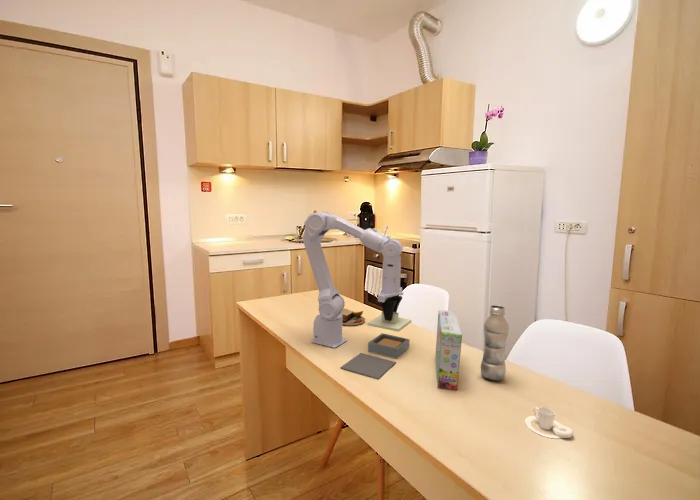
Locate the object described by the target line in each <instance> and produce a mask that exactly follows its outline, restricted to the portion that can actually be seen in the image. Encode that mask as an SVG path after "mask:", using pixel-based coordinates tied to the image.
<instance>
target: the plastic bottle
mask: <svg viewBox="0 0 700 500" xmlns="http://www.w3.org/2000/svg"><path fill="white" fill-rule="evenodd" d="M489 307H490V308H489V316H488V317H487V318H486V319H485V321H484V322H483V334H484V335H483V338H484V346H483V347H484V348H483V355H482V359H481V363H480V373H481V374H482V376H483V377H484V378H485V379H486V380H487V379H488V380H490V381H497V382H498V381H501V380H503V379H504V378H505V376H506V372H507V368H506V367H507V366H506V356H505V355H506V346H507V345H506V343H507V339H508V335H509V331H510V327H509V324H508V321H507V320H506V318H505V314H506V313H505V310H506V309H505V306H502V305H498V304H495V305H494V304H493V305H490V306H489Z"/></svg>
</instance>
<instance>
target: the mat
mask: <svg viewBox="0 0 700 500" xmlns="http://www.w3.org/2000/svg"><path fill="white" fill-rule="evenodd" d="M396 364H397V361H394V360H390V359H386V358H381V357H379V356H374V355H371V354H367V353H364V352H359V354H357V355H356V356H354V357H353V358H352V359H350V360H349V361H347V362H346V363H344V364H343V365H342V366H340V370H344V371H348V372H350V373H354V374H358V375H361V376H365V377H368V378H371V379H373V380H380V379H381V378H383V376H384V375H385V374H387V372H389V370H390V369H392V368H393V367H394V366H395V365H396Z"/></svg>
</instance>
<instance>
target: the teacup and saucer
mask: <svg viewBox="0 0 700 500" xmlns="http://www.w3.org/2000/svg"><path fill="white" fill-rule="evenodd" d="M536 410H537V412H536ZM532 411H533V414H534V415H530V416H527V417H526V418H525V420H524V424H525V426H526V427H527V428H528V429H529V430H530V431H532V432H533V433H535V434H537V435H538V436H542V437H545V438H547V439H557V440H558V439H564V438H565V439H567V438H568V439H569V438H572V437H573V435H574V430H573V429H572V428H570V427H569V426H566V425H563V424H562V423H560V422H559V421H557V420H555V415H556V412H555V411H554V410H553V409H551V408H550V407H546V406H540V407H534V408H533V410H532ZM533 420H536V421H537V423H538V425H539V427H540V428H541V429H542V430H546V431H550V430H551V429H552V432H553V433H554V435H553V434H546V433H543V432H541V431H538V430H537V429H535V428H534V427H533V426H532V423H531V422H532V421H533ZM554 424H555V425H554Z"/></svg>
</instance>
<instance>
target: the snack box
mask: <svg viewBox="0 0 700 500" xmlns="http://www.w3.org/2000/svg"><path fill="white" fill-rule="evenodd" d="M437 315H438V316H437V328H436V343H435V366H436V381H437V382H436V383H437V388H439V389H447V390H452V391H458V384H459V374H460V366H461V365H460V364H461V363H460V362H461V353H462V352H461V351H462V341H463V333H462V329H461V326H460V324H459V319H458V316H457V313H456V311H454V310H453V311H452V310H441V309H439V310H438V314H437Z"/></svg>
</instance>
